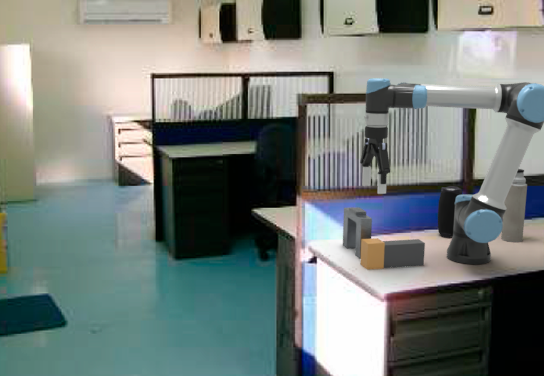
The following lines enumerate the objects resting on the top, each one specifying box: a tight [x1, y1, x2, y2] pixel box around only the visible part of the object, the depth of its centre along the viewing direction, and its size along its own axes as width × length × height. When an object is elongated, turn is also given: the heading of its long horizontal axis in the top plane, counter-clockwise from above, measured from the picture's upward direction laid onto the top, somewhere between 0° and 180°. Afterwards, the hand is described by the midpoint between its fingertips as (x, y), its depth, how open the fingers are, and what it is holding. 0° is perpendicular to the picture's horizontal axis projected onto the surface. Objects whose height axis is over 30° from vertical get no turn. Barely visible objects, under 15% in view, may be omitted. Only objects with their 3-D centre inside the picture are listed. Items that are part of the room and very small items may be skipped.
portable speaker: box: [437, 185, 463, 239], centre depth 279 cm, size 9×9×20 cm
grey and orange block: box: [360, 237, 426, 271], centre depth 240 cm, size 21×6×9 cm, turn 104°
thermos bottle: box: [500, 168, 528, 243], centre depth 273 cm, size 8×8×28 cm
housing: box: [342, 206, 373, 260], centre depth 255 cm, size 18×4×16 cm, turn 14°
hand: (373, 189), depth 234 cm, fingers open, 13 cm apart
